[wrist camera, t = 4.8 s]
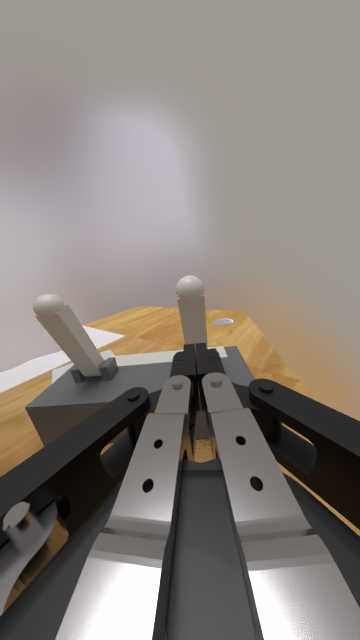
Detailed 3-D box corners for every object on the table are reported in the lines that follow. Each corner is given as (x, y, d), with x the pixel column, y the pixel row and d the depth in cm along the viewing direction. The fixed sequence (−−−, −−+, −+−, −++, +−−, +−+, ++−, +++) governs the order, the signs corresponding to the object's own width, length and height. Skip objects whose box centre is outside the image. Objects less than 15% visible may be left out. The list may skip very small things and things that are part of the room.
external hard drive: (120, 366, 38) (54, 394, 32) (111, 354, 45) (54, 375, 38) (118, 360, 38) (50, 386, 31) (109, 348, 44) (52, 368, 38)
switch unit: (261, 436, 19) (262, 374, 17) (44, 445, 21) (17, 393, 19) (237, 378, 28) (235, 334, 26) (89, 389, 31) (75, 349, 28)
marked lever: (210, 372, 21) (204, 281, 14) (189, 374, 22) (173, 285, 14) (207, 356, 23) (201, 269, 16) (188, 358, 24) (174, 272, 16)
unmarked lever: (103, 381, 23) (45, 301, 15) (85, 382, 23) (19, 304, 15) (110, 364, 25) (62, 287, 17) (93, 366, 25) (38, 291, 17)
